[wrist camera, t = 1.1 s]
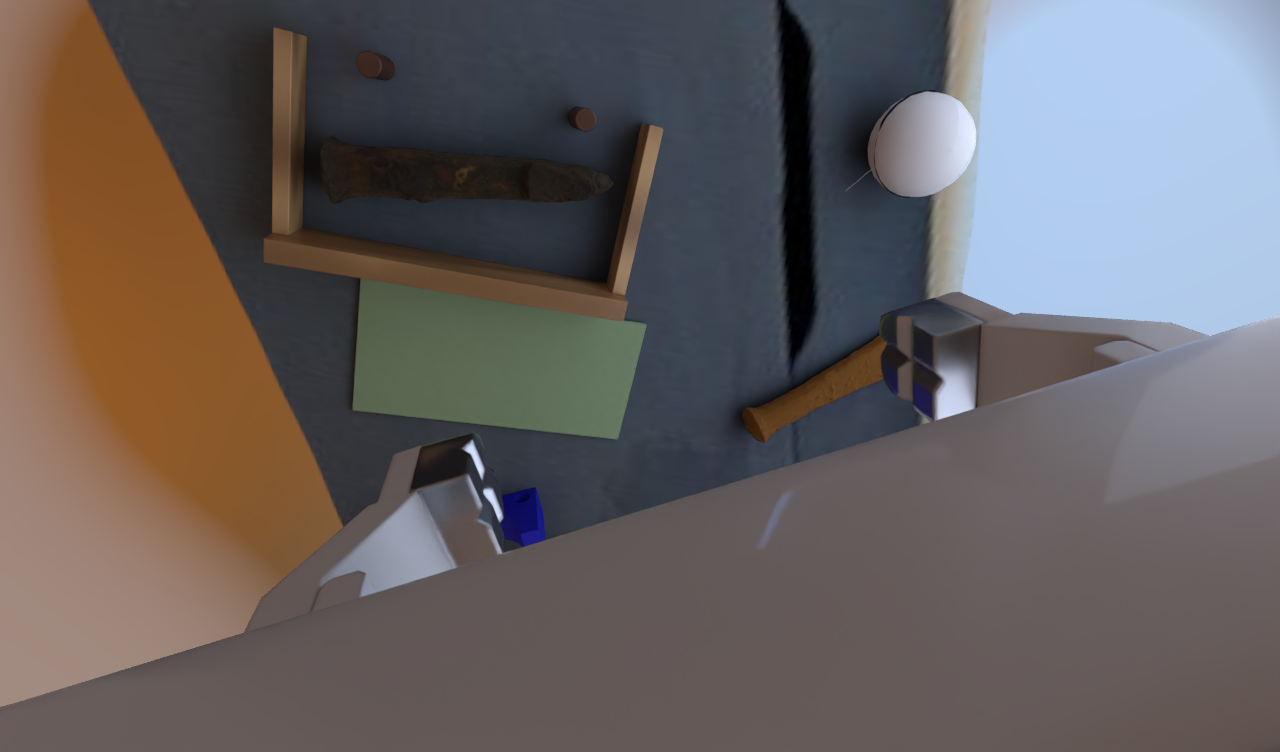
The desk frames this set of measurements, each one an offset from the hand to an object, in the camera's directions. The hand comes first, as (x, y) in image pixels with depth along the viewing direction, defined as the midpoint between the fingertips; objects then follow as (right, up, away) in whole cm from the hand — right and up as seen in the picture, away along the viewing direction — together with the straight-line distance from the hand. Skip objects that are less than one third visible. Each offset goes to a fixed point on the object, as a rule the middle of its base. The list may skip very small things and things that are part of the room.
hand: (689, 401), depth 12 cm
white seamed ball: (+18, +19, +36) cm, 45 cm away
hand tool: (-13, +16, +31) cm, 37 cm away
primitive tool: (+17, +1, +44) cm, 47 cm away
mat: (-12, +1, +37) cm, 39 cm away
